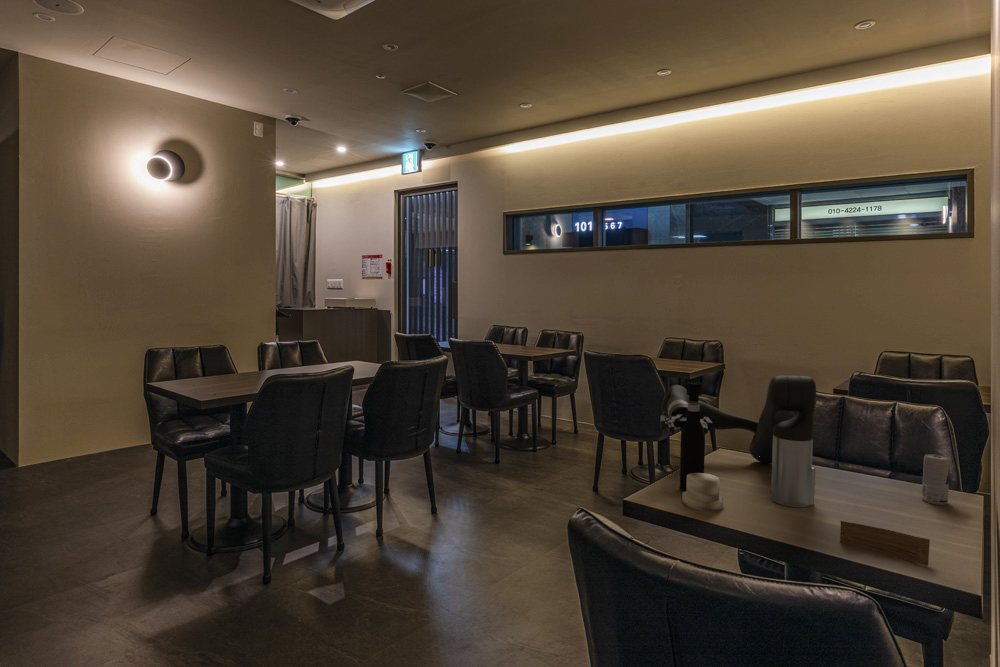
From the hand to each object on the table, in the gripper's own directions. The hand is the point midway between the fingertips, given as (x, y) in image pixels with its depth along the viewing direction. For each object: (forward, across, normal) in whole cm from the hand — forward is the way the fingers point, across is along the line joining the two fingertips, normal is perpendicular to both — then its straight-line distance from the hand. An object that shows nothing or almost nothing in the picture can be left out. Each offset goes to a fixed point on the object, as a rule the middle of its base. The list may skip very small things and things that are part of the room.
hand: (688, 430), depth 155 cm
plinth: (+14, -2, -15) cm, 21 cm away
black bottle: (+3, -1, -16) cm, 16 cm away
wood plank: (+36, -34, -14) cm, 52 cm away
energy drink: (0, -62, -17) cm, 64 cm away
